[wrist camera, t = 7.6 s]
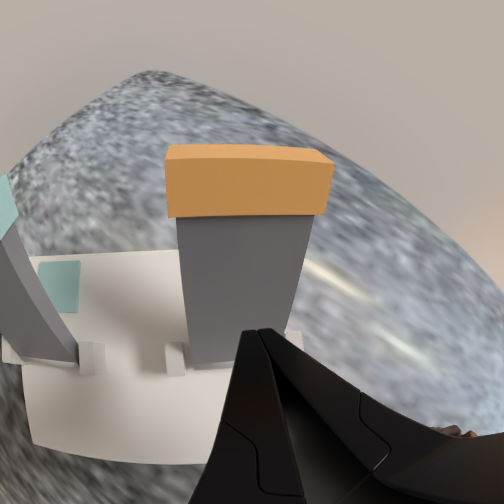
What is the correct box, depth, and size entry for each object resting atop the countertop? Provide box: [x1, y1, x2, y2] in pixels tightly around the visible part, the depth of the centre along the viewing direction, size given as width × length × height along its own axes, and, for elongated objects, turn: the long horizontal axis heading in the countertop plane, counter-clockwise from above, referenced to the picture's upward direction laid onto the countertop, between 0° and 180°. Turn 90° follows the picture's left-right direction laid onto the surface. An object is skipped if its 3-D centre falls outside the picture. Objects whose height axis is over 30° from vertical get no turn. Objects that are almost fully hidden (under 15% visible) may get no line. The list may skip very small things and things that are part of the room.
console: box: [2, 250, 304, 464], centre depth 12 cm, size 12×16×4 cm
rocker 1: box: [0, 173, 80, 369], centre depth 8 cm, size 1×4×10 cm, turn 97°
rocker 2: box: [165, 144, 335, 371], centre depth 10 cm, size 1×4×10 cm
